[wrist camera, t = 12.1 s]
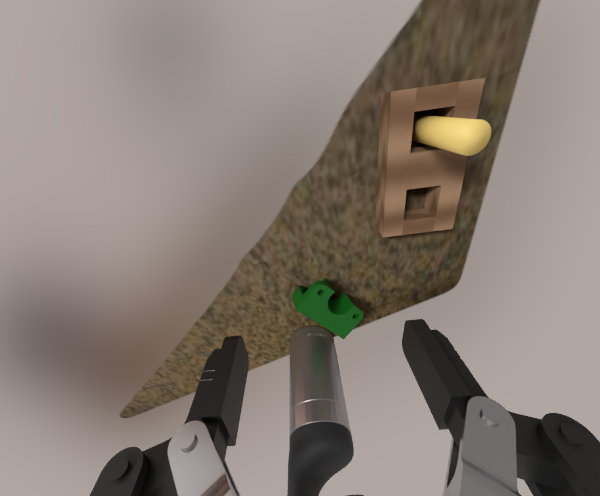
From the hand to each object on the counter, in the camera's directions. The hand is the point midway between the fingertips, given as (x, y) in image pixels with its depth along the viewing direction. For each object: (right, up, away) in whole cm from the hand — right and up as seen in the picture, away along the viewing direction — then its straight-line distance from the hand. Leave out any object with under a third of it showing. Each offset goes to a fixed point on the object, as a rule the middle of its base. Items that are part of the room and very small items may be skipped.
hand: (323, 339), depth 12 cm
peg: (+14, +20, +19) cm, 31 cm away
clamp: (+4, -4, +33) cm, 34 cm away
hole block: (+15, +16, +22) cm, 31 cm away
